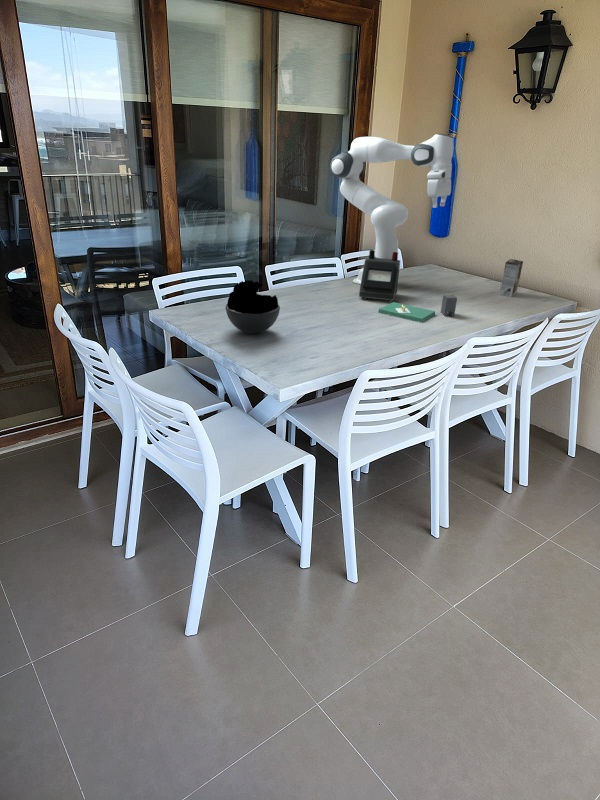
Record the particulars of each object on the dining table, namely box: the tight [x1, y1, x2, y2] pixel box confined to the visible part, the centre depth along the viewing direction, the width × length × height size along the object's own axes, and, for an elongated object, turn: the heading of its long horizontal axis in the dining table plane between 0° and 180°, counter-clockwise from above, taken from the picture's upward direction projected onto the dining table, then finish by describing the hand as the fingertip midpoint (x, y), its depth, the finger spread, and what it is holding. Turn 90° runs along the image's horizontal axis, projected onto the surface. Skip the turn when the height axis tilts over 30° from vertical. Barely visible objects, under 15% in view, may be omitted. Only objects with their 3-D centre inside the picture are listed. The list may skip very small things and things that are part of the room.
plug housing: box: [440, 294, 458, 317], centre depth 232 cm, size 5×4×8 cm
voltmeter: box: [358, 249, 401, 303], centre depth 251 cm, size 16×16×20 cm
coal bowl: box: [225, 279, 281, 334], centre depth 200 cm, size 20×20×19 cm
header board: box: [378, 301, 436, 323], centre depth 232 cm, size 20×14×2 cm
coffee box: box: [499, 258, 524, 298], centre depth 265 cm, size 9×6×16 cm
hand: (438, 207), depth 245 cm, fingers open, 8 cm apart
